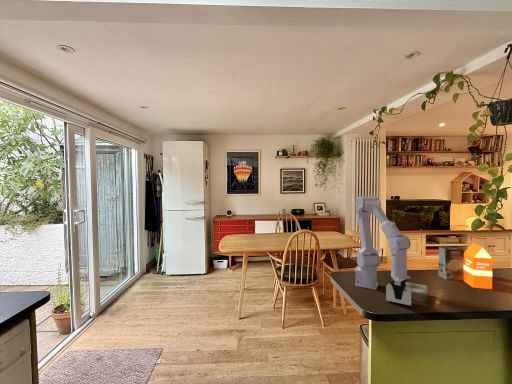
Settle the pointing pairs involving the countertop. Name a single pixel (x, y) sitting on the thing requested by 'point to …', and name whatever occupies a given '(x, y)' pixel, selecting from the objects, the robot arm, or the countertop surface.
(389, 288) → the housing
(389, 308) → the countertop surface
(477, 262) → the orange juice
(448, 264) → the coffee box
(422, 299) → the stand
